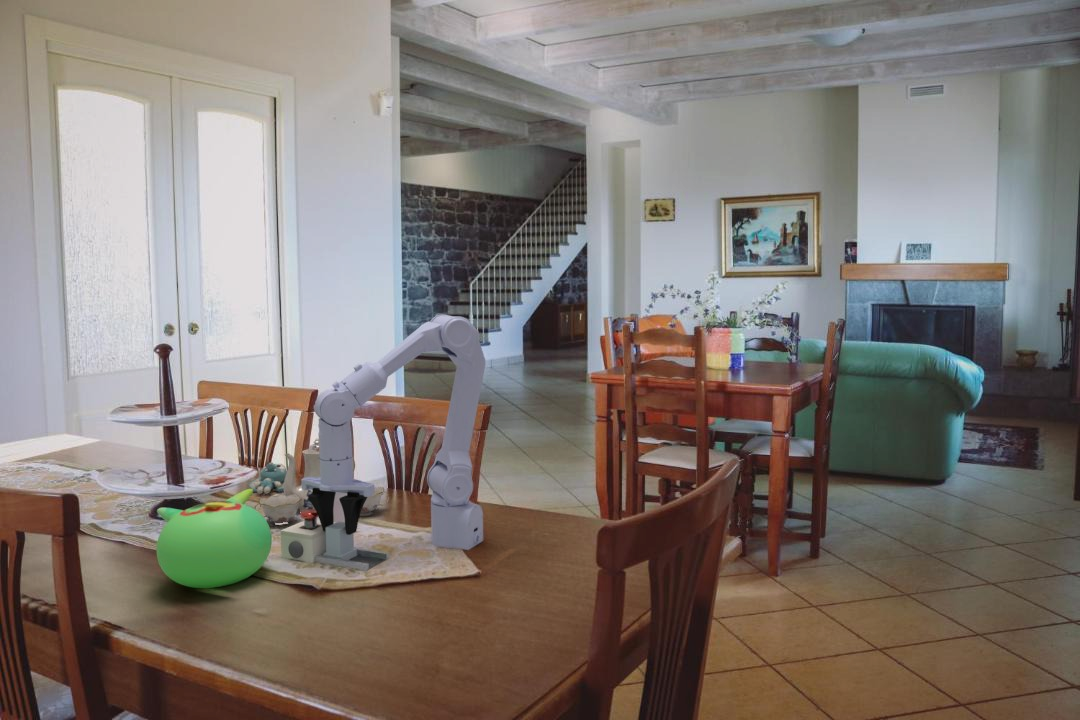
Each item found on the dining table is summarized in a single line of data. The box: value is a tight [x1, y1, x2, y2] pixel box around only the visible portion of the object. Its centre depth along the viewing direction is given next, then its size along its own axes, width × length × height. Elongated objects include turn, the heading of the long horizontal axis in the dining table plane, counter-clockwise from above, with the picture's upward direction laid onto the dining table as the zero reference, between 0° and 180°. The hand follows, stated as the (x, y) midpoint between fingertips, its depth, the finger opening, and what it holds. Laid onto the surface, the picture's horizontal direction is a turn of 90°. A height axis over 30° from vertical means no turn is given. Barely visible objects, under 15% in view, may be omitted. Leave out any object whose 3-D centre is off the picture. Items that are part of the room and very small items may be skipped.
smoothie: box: [333, 492, 347, 522], centre depth 169 cm, size 6×6×14 cm
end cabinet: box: [280, 519, 337, 564], centre depth 153 cm, size 7×8×6 cm
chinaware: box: [253, 437, 390, 523], centre depth 181 cm, size 28×17×17 cm, turn 119°
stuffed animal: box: [248, 462, 287, 495], centre depth 201 cm, size 11×7×12 cm
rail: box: [314, 546, 390, 572], centre depth 150 cm, size 11×7×2 cm, turn 66°
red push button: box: [300, 509, 319, 530], centre depth 153 cm, size 3×3×5 cm
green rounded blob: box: [156, 488, 273, 589], centre depth 141 cm, size 18×17×15 cm
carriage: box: [323, 521, 357, 560], centre depth 151 cm, size 4×4×6 cm
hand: (339, 531), depth 151 cm, fingers open, 5 cm apart
